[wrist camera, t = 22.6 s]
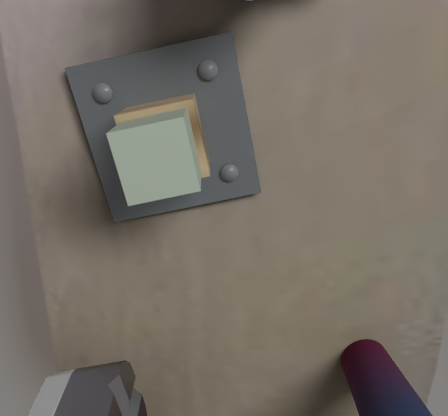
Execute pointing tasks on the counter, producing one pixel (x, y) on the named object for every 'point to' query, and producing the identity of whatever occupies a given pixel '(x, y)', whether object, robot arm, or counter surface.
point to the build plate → (164, 89)
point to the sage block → (156, 156)
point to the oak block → (171, 105)
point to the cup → (379, 382)
